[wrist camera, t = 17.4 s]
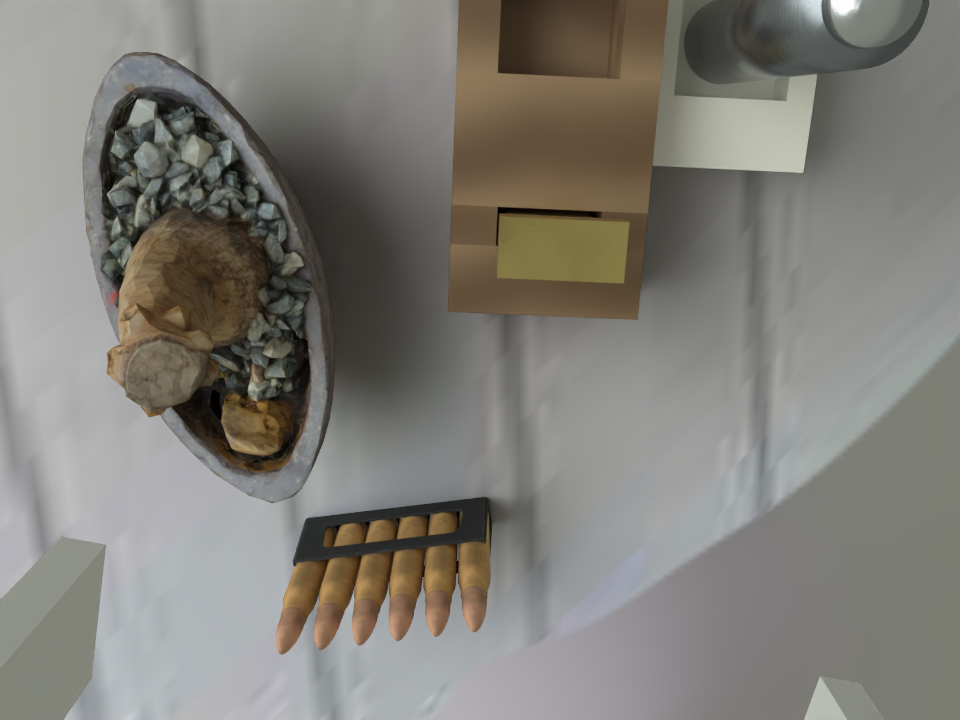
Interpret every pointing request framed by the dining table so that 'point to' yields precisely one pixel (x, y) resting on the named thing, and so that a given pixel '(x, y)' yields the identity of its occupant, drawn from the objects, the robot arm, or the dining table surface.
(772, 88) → the block
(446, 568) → the ammunition clip
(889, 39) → the grey metal cylinder
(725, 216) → the dining table surface
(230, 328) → the planter
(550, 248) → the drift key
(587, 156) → the socket block
